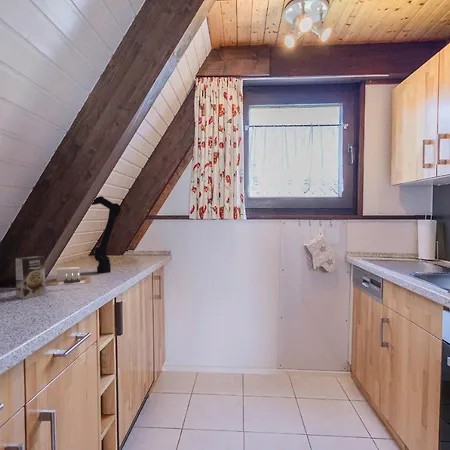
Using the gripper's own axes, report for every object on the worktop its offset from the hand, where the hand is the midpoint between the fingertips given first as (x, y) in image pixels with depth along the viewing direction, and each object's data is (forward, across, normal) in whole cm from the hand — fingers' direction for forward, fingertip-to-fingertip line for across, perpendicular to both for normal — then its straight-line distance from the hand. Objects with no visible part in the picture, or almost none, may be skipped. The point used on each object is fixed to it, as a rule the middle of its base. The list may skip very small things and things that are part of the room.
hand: (47, 253), depth 182 cm
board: (+8, +14, +20) cm, 25 cm away
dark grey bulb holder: (+6, +18, +22) cm, 29 cm away
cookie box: (+12, +35, +14) cm, 39 cm away
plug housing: (+7, +10, +18) cm, 21 cm away
